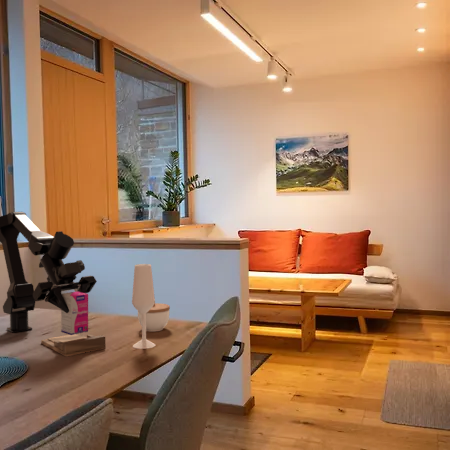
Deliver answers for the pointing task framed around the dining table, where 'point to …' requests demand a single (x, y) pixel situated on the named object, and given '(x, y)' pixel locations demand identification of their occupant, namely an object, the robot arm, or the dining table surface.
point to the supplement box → (75, 313)
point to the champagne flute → (143, 298)
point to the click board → (75, 344)
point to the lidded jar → (156, 317)
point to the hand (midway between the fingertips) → (77, 310)
